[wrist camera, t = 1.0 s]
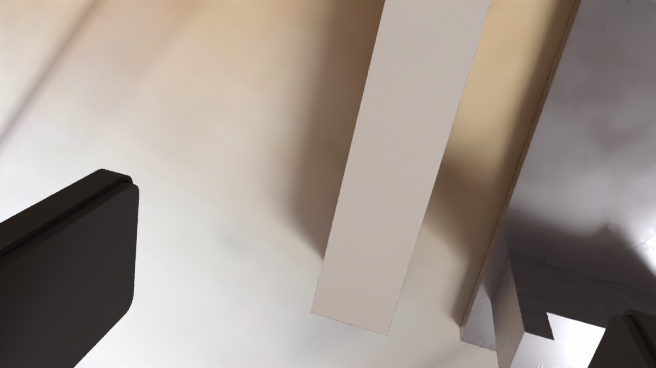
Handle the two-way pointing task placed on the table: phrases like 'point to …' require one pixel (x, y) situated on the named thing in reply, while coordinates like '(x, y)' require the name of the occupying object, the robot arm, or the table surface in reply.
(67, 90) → the table surface
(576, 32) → the twin post stand
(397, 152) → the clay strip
